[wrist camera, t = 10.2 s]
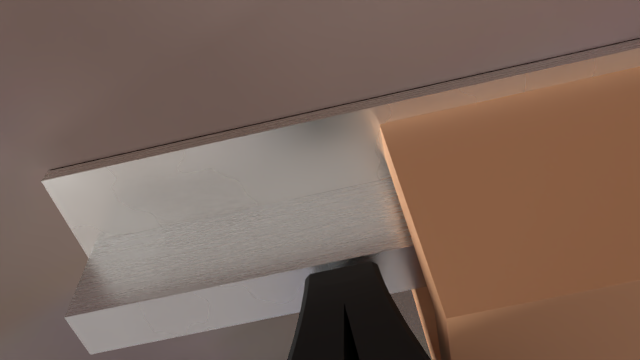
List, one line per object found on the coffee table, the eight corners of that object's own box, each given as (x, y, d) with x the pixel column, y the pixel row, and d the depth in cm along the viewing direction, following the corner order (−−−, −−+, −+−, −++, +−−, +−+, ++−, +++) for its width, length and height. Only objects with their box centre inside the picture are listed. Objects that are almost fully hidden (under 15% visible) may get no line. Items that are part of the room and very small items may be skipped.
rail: (797, 181, 14) (919, 265, 11) (134, 317, 15) (105, 422, 12) (865, -12, 11) (1047, 42, 9) (47, 171, 12) (-15, 269, 10)
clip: (675, 200, 14) (878, 393, 9) (402, 257, 14) (464, 469, 9) (706, 51, 11) (993, 209, 7) (379, 124, 12) (446, 318, 7)
